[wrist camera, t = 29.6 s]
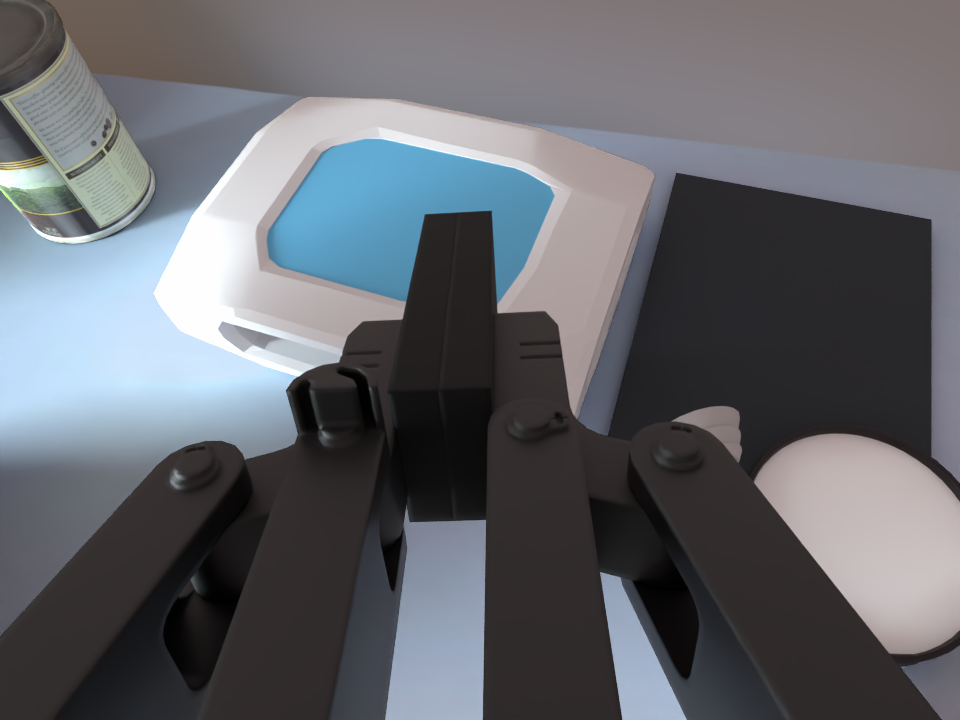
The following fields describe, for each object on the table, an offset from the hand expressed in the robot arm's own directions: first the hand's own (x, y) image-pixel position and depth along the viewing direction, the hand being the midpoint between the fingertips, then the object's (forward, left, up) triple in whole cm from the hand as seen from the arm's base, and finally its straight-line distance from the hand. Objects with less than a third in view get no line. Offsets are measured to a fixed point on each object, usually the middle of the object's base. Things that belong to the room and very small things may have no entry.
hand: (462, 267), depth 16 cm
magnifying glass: (+18, +1, -26) cm, 32 cm away
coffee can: (-41, +18, -27) cm, 52 cm away
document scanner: (-12, +18, -27) cm, 34 cm away
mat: (+13, +20, -26) cm, 36 cm away
